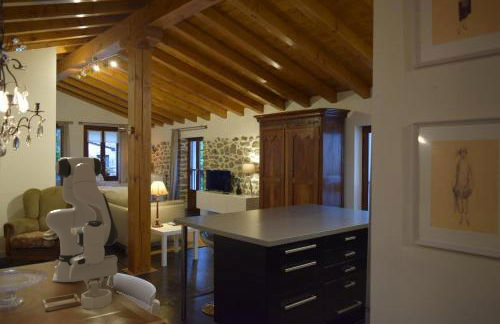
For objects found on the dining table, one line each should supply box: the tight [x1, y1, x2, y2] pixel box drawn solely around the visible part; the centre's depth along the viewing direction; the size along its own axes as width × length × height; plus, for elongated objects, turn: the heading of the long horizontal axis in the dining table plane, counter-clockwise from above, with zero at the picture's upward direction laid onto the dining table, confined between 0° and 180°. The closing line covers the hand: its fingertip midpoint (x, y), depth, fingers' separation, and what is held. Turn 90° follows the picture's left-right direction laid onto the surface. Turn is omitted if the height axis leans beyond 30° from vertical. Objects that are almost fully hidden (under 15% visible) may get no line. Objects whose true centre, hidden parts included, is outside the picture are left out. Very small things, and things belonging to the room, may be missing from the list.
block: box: [88, 281, 99, 292], centre depth 168 cm, size 4×3×4 cm
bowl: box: [80, 288, 113, 310], centre depth 167 cm, size 12×12×5 cm
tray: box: [41, 292, 82, 312], centre depth 167 cm, size 12×14×2 cm
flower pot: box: [88, 276, 110, 289], centre depth 180 cm, size 9×9×9 cm
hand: (93, 287), depth 168 cm, fingers closed on block, 3 cm apart
